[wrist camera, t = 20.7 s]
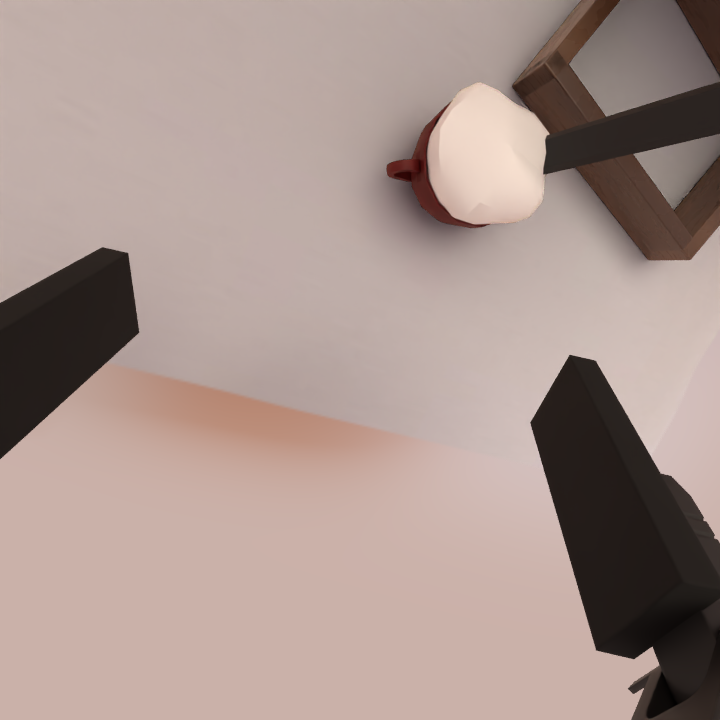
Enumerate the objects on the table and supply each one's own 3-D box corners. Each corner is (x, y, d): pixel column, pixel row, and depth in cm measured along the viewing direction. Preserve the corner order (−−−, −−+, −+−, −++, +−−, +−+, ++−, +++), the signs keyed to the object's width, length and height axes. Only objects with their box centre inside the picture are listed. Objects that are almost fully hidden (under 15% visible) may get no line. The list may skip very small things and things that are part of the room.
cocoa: (364, 202, 24) (461, 148, 13) (400, 87, 23) (540, -82, 12) (503, 257, 27) (686, 254, 15) (540, 156, 26) (765, 74, 14)
